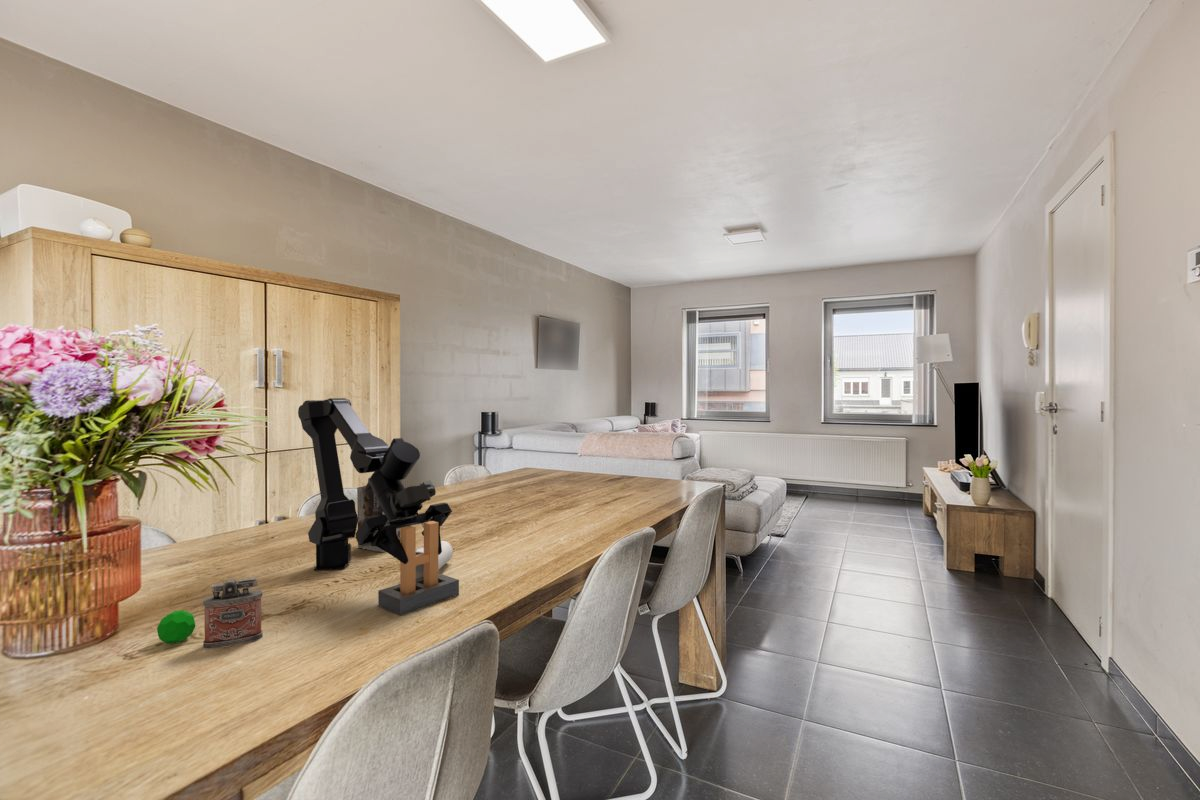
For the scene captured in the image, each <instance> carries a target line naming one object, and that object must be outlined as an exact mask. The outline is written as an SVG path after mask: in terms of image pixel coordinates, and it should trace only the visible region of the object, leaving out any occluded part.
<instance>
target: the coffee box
mask: <svg viewBox="0 0 1200 800" xmlns="http://www.w3.org/2000/svg"><path fill="white" fill-rule="evenodd" d="M356 494H357V497H356V500H357V502H356V503H357V505H356V506H357V509H356V511H357V517H358V523H357V530H358V529H359V527H360V525H361V524H362V522H363V521H364V519H365V518H366V517H370V516H375V515H381V514H383V515H385V514H384V512H380V513H379V511H378V509H377V508H378V507H379V505H380V504H379V502H378V500H377V498H376V496H375V494H374V492H373V490H372V491H366V485H363V486H359V487H357V488H356ZM396 531H397V537H398V538H399V540H400V528H398V529H396ZM358 548H362V549H361V550H365V549H367V550H366V551H372V550H374V551H373V552H378V551H379V552H378V553H384V552H385V551H384V550H382V549H380V548H378V547H376V546H373V547H372V546H371V543H370V544H366V545H361V546H360V545H359V544H358V543H357V549H358ZM385 553H386V552H385Z"/></svg>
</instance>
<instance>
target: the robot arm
mask: <svg viewBox="0 0 1200 800" xmlns="http://www.w3.org/2000/svg"><path fill="white" fill-rule="evenodd" d="M297 415H298V418H299V421H300V423H301V426H302V427H301V428H302V430H304V432H305V433H306V434H307V435H308V436H309V437H310V438H311V440H312V447H313V448H312V449H313V453H314V461H315V466H316V467H315V468H316V474H317V480H318V487H319V494H320V501H319V503H318V505H317V507H316V510H315V512H314V514H315V520H314V522H313V524H312V525H311V527H310V529H309V531H308V533H307V534H308V535H307V536H308V541H309V542H310V543H312V544H315V566H314V567H313V571H329V570H331V571H332V570H343V569H345V568H347V566H348V565H349V563H350V562H351V560H352V559H351V558H352V557H351V555H352V554H351V551H352V550H351V549H352V548H351V547H352V545H351V543H349V539H352V538H353V539H354V538H355V539H356V543H357V545H358V544H359V545H360V546H361V545H366V544H370V543H371V546H372V547H373V546H376V547H378V548H380V549H382V550H384V551H385V553H387V554H389V555H391V556H392V557H393V558H395V559H396V560H397V561H399V562H400V561H401V562H402V563H404V564H407V562H408V558H407V555H406V552H405V550H404V548H403V546H402V544H401V542H400V540H399V538H398V537H397V531H396V529H398V528H402V527H407V526H412V527H413V526H415V525H421V526H422V528H423V531H422V532H421V535H422V536H423V537H424V523H425V522H430V521H435V522H438V555H439V554H441V552H442V547H441V541H442V539H441V527H442V526H443V524H444V523H445V522H446V520H447V519H448V518H449V516H450V515H451V513H453V510H452V509H451V507H450V505H449V504H448V503H447V502H440V503H434V504H430V505H429V506H428V507H427V509H426V510H425V512H422V513H419V512H418V511H421V510H422V508H423V507H424V506H423V503H425V502H427V501H428V502H429V501H431V498H432V497H434V496H436V494H437V491H436V488H435V486H434V484H433V482H432V481H431V480H426V481H423V482H422V483H419V484H418V485H411V486H408V487H405V486H404V485H405V484H404V483H403V482H402V481H403V480H405V479H407V477H409V475H410V473H411V471H412V470H413V469H414V467H415V465H416V464H417V462H418V461H419V460H420V457H421V453H420V451H419V449H418V447H416V446H414V445H413V444H411V443H410V442H407V441H404V439H403V438H402V437H400V438H399V437H398V438H396V437H395V438H393V439H392V440H391V443H390V445H389V444H388V443H387V442H385V440H384V439H382V438H380V437H377V436H375V435H373V434H372V433H371V431H370V430H369V429H368V428H367V426H366V425H365V424H364V421H363V420H361V418H360V417H359V415H358V413H356V411H355V410H354V409H353V407H352V402H351V400H350V399H347V398H346V397H339V398H338V397H335V398H334V397H330V398H328V399H324V400H323V399H320V400H319V399H318V400H316V399H315V400H310V399H309V400H305V401H304V402H303V403H302V404H300V405H299V406H298V411H297ZM337 430H338V431H339V433H340V434H341V436H342V437H343V439H344V440H345V442H346V443H347V444H348V446H349V447H350V450H351V451H350V456H349V459H350V461H351V463H352V466H353V467H354V469H355V470H356V471H357V472H358V473H359V474H367V473H369V474H370V473H372V474H371V476H370V477H369V478H368V479H367V483H366V485H365V486H366V491H372V490H373V492H374V494H375V496H376V498H377V500H378V502H379V504H380V505H379V507H378V508H377V509H378V511H379V513H380V512H384V514H385V515H383V514H381V515H375V516H370V517H366V518H365V519H364V521H363V522H362V524H361V525H360V527H359V529H358V512H357V509H356V503H355V500H354V499H353V498H352V499H349V498H348V497H347V496H346V494H345V492H344V486H343V480H342V472H341V468H340V460H339V455H338V447H337V442H336V436H335V434H336V432H337Z"/></svg>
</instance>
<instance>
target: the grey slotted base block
mask: <svg viewBox="0 0 1200 800" xmlns="http://www.w3.org/2000/svg"><path fill="white" fill-rule="evenodd" d="M377 592H378V593H377V594H378V602H377V603H378V605H377V606H378V608H381V609H383V610H386V611H388V612H390V613H393V614H395V615H398V616H399V617H401V616H404V615H406V614H409V613H412V612H414V611H417V610H418V611H419V610H421V609H423V608H426V607H429V606H431V605H435V604H437V603H439V602H442V601H446V600H449V599H450V597H451V598H453V597H456V596H459V595H460V594H459V593H460V580H459V579H457V578H454V577H451V576H448V575H446V574H442V573H439V572H438V584H435V585H432V586H426V585H424V577H421V578H418V579H416V591H413V592H410V593H407V594H403V593H400V583H398V584H396V585H392V586H389V587H386V588H383V589H379V590H378V591H377Z"/></svg>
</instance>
